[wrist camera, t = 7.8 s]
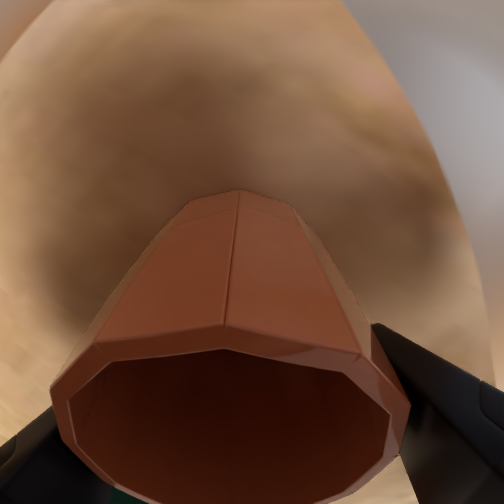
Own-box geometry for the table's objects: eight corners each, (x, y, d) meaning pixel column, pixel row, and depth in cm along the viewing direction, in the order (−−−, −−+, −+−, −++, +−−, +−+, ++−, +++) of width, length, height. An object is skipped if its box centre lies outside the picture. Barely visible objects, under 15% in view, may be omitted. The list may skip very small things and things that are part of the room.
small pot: (309, 174, 11) (429, 276, 3) (331, 330, 13) (386, 494, 6) (128, 216, 11) (-9, 348, 4) (183, 357, 14) (148, 517, 6)
